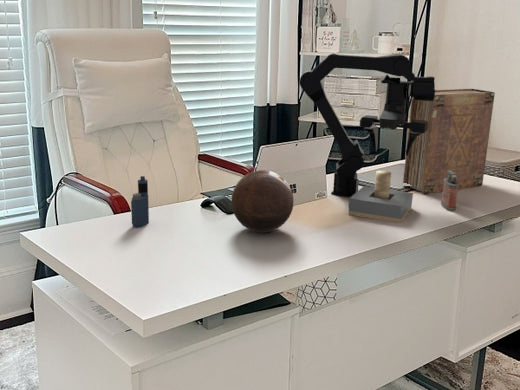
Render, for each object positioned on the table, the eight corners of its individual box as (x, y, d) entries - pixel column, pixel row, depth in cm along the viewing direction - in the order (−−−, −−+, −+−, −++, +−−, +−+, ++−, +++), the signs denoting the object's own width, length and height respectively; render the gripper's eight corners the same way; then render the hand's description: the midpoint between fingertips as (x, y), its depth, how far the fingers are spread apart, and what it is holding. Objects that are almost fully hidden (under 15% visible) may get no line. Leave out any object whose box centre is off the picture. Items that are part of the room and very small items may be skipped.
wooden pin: (371, 208, 167) (374, 173, 164) (375, 204, 170) (378, 169, 168) (386, 210, 165) (389, 175, 163) (389, 206, 169) (392, 171, 166)
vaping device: (151, 222, 154) (150, 176, 151) (138, 228, 150) (137, 181, 146) (142, 220, 155) (141, 174, 152) (129, 226, 151) (128, 179, 147)
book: (422, 194, 186) (433, 94, 177) (402, 186, 193) (411, 91, 185) (482, 185, 197) (495, 91, 189) (461, 179, 205) (472, 88, 197)
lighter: (458, 211, 170) (462, 176, 167) (446, 211, 170) (450, 176, 167) (450, 202, 178) (454, 169, 175) (438, 202, 178) (442, 169, 175)
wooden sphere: (299, 239, 145) (302, 178, 141) (236, 242, 142) (237, 180, 138) (283, 219, 159) (286, 163, 155) (226, 221, 156) (227, 164, 152)
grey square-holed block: (348, 214, 165) (349, 198, 164) (362, 201, 177) (363, 186, 176) (400, 222, 159) (401, 206, 158) (411, 208, 172) (412, 193, 170)
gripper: (356, 100, 172) (352, 154, 176) (423, 105, 164) (417, 162, 169) (366, 95, 181) (362, 147, 186) (431, 101, 174) (425, 155, 178)
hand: (391, 153), depth 179 cm, fingers open, 9 cm apart
